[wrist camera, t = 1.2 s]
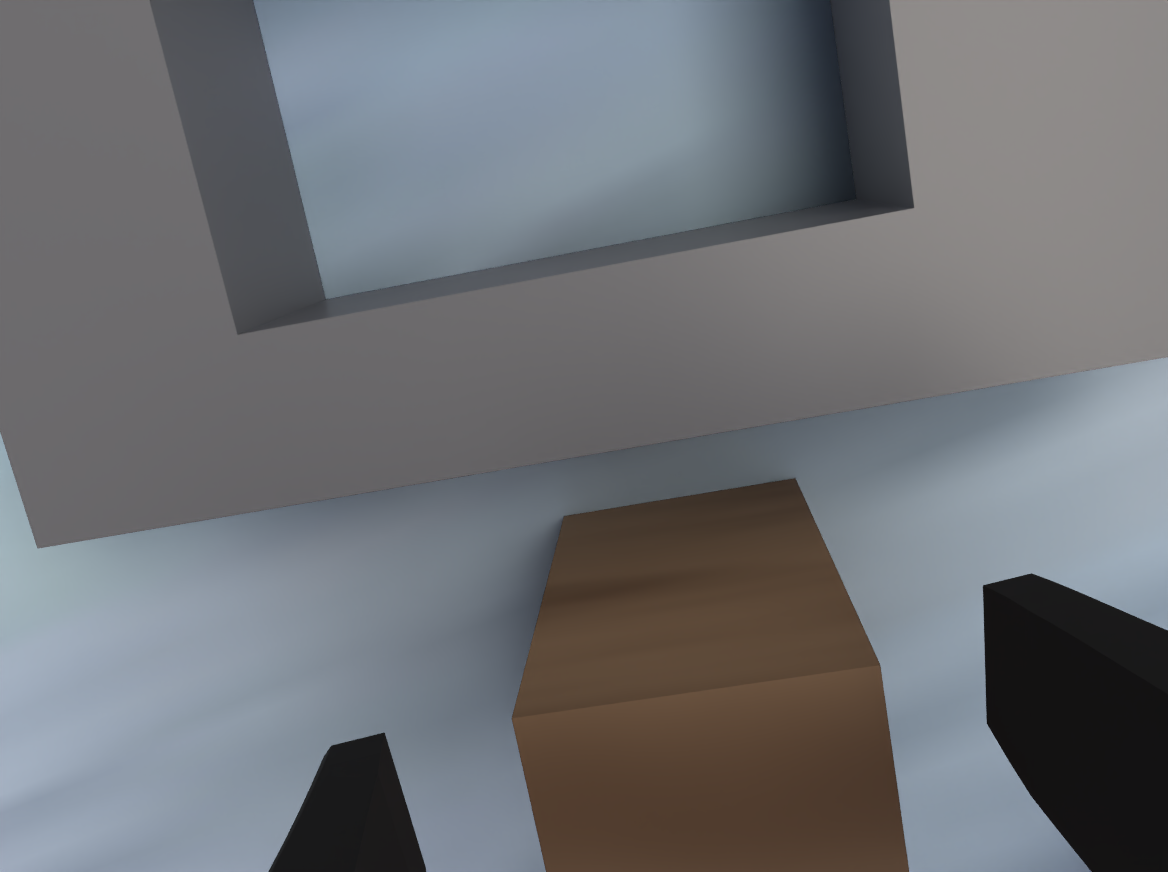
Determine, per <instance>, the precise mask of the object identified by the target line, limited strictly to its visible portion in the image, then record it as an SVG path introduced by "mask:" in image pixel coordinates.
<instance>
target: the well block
mask: <svg viewBox="0 0 1168 872" xmlns="http://www.w3.org/2000/svg"><path fill="white" fill-rule="evenodd" d="M830 2H831V10H832V18H833V25H834V33H835V40H836V48H837V56H838V63H839V71H840V78H841V86H842V94H843V101H844V109H845V116H846V124H847V131H848V139H849V147H850V154H851V162H852V169H853V177H854V185H855V192H856V199H854V200H849V201H844V202H838V203H833V204H828V205H823V206H817V207H812V208H807V209H801V210H796V211H791V212H786V213H780V214H775V215H770V216H764V217H759V218H754V219H749V220H743V221H738V222H733V223H727V224H722V225H717V226H712V227H706V228H701V229H696V230H690V231H685V232H680V233H675V234H669V235H664V236H659V237H653V238H648V239H643V240H638V241H632V242H627V243H622V244H616V245H611V246H606V247H601V248H595V249H590V250H585V251H579V252H574V253H569V254H564V255H558V256H553V257H548V258H542V259H537V260H532V261H527V262H521V263H516V264H511V265H505V266H500V267H495V268H490V269H484V270H479V271H474V272H468V273H463V274H458V275H453V276H447V277H442V278H437V279H431V280H426V281H421V282H416V283H410V284H405V285H400V286H394V287H389V288H384V289H379V290H373V291H368V292H363V293H357V294H352V295H347V296H342V297H336V298H331V299H325V295H324V290H323V286H322V282H321V278H320V274H319V270H318V266H317V262H316V258H315V253H314V249H313V245H312V241H311V237H310V233H309V229H308V225H307V221H306V216H305V212H304V208H303V204H302V200H301V196H300V192H299V188H298V184H297V179H296V175H295V171H294V167H293V163H292V159H291V155H290V151H289V147H288V142H287V138H286V134H285V130H284V126H283V122H282V118H281V114H280V110H279V105H278V101H277V97H276V93H275V89H274V85H273V81H272V77H271V73H270V69H269V64H268V60H267V56H266V52H265V48H264V44H263V40H262V36H261V32H260V27H259V23H258V19H257V15H256V11H255V7H254V3H253V0H0V432H1V435H2V438H3V442H4V445H5V448H6V451H7V454H8V457H9V460H10V463H11V467H12V470H13V473H14V476H15V479H16V482H17V485H18V489H19V492H20V495H21V498H22V501H23V504H24V507H25V511H26V514H27V517H28V520H29V523H30V526H31V529H32V533H33V536H34V539H35V542H36V545H37V548H43V547H49V546H55V545H61V544H67V543H73V542H78V541H84V540H90V539H96V538H102V537H108V536H114V535H120V534H126V533H132V532H137V531H143V530H149V529H155V528H161V527H167V526H173V525H179V524H185V523H191V522H196V521H202V520H208V519H214V518H220V517H226V516H232V515H238V514H244V513H250V512H256V511H261V510H267V509H273V508H279V507H285V506H291V505H297V504H303V503H309V502H315V501H320V500H326V499H332V498H338V497H344V496H350V495H356V494H362V493H368V492H374V491H380V490H385V489H391V488H397V487H403V486H409V485H415V484H421V483H427V482H433V481H439V480H444V479H450V478H456V477H462V476H468V475H474V474H480V473H486V472H492V471H498V470H504V469H509V468H515V467H521V466H527V465H533V464H539V463H545V462H551V461H557V460H563V459H568V458H574V457H580V456H586V455H592V454H598V453H604V452H610V451H616V450H622V449H628V448H633V447H639V446H645V445H651V444H657V443H663V442H669V441H675V440H681V439H687V438H692V437H698V436H704V435H710V434H716V433H722V432H728V431H734V430H740V429H746V428H752V427H757V426H763V425H769V424H775V423H781V422H787V421H793V420H799V419H805V418H811V417H816V416H822V415H828V414H834V413H840V412H846V411H852V410H858V409H864V408H870V407H876V406H881V405H887V404H893V403H899V402H905V401H911V400H917V399H923V398H929V397H935V396H940V395H946V394H952V393H958V392H964V391H970V390H976V389H982V388H988V387H994V386H1000V385H1005V384H1011V383H1017V382H1023V381H1029V380H1035V379H1041V378H1047V377H1053V376H1059V375H1064V374H1070V373H1076V372H1082V371H1088V370H1094V369H1100V368H1106V367H1112V366H1118V365H1124V364H1129V363H1135V362H1141V361H1147V360H1153V359H1159V358H1165V357H1168V0H830Z"/></svg>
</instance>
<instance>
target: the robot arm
mask: <svg viewBox="0 0 1168 872" xmlns="http://www.w3.org/2000/svg"><path fill="white" fill-rule="evenodd" d="M983 601H984V638H985V674H986V711H987V724H988V726H989V728H990V729H991V731H992V733H993V735H994V736H995V738H996V740H997V741H998V743H999V745H1000V746H1001V748H1002V750H1003V752H1004V753H1005V755H1006V757H1007V758H1008V760H1009V762H1010V763H1011V765H1012V767H1013V768H1014V770H1015V771H1016V773H1017V774H1018V776H1019V778H1020V779H1021V781H1022V782H1023V784H1024V785H1025V787H1026V789H1027V790H1028V792H1029V793H1030V795H1031V796H1032V798H1033V799H1034V800H1035V801H1036V803H1037V804H1038V805H1039V807H1040V808H1041V809H1042V810H1043V812H1044V813H1045V814H1046V815H1047V817H1048V818H1049V819H1050V821H1051V822H1052V823H1053V824H1054V826H1055V827H1056V828H1057V829H1058V831H1059V832H1060V833H1061V834H1062V836H1063V837H1064V838H1065V839H1066V841H1067V842H1068V843H1069V844H1070V846H1071V847H1072V848H1073V849H1074V851H1075V852H1076V853H1077V854H1078V855H1079V857H1080V858H1081V859H1082V860H1083V862H1084V863H1085V864H1086V865H1087V867H1088V868H1089V869H1090V870H1091V871H1092V872H1168V631H1167V630H1165V629H1163V628H1160V627H1158V626H1156V625H1153V624H1151V623H1149V622H1146V621H1144V620H1142V619H1139V618H1137V617H1135V616H1133V615H1130V614H1128V613H1126V612H1123V611H1121V610H1119V609H1116V608H1114V607H1112V606H1110V605H1107V604H1105V603H1103V602H1100V601H1098V600H1096V599H1093V598H1091V597H1089V596H1086V595H1084V594H1082V593H1079V592H1077V591H1075V590H1072V589H1070V588H1068V587H1065V586H1063V585H1060V584H1058V583H1055V582H1053V581H1050V580H1048V579H1045V578H1042V577H1040V576H1037V575H1034V574H1027V575H1023V576H1019V577H1015V578H1011V579H1007V580H1003V581H999V582H995V583H991V584H987V585H983ZM269 872H426V867H425V864H424V861H423V857H422V854H421V851H420V848H419V844H418V841H417V838H416V834H415V831H414V828H413V825H412V821H411V818H410V815H409V811H408V808H407V805H406V802H405V798H404V795H403V792H402V788H401V785H400V782H399V779H398V775H397V772H396V769H395V765H394V762H393V759H392V756H391V752H390V749H389V746H388V742H387V739H386V736H385V733H381V734H377V735H373V736H369V737H365V738H361V739H357V740H353V741H349V742H344V743H340V744H336V745H332V746H331V747H330V749H329V750H328V751H327V753H326V754H325V756H324V758H323V760H322V762H321V764H320V767H319V769H318V771H317V774H316V776H315V778H314V780H313V782H312V785H311V787H310V789H309V791H308V793H307V796H306V798H305V800H304V802H303V804H302V806H301V809H300V811H299V813H298V815H297V817H296V819H295V821H294V823H293V825H292V827H291V829H290V831H289V833H288V835H287V837H286V839H285V841H284V843H283V845H282V847H281V849H280V851H279V853H278V855H277V857H276V859H275V860H274V862H273V864H272V866H271V868H270V870H269Z"/></svg>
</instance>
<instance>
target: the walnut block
mask: <svg viewBox="0 0 1168 872" xmlns="http://www.w3.org/2000/svg"><path fill="white" fill-rule="evenodd" d="M512 722H513V726H514V731H515V735H516V739H517V744H518V748H519V753H520V757H521V762H522V766H523V771H524V775H525V780H526V784H527V789H528V793H529V797H530V802H531V806H532V811H533V815H534V820H535V824H536V829H537V833H538V838H539V842H540V846H541V851H542V855H543V860H544V864H545V869H546V872H909V867H908V860H907V853H906V846H905V839H904V831H903V824H902V817H901V810H900V803H899V796H898V789H897V781H896V774H895V767H894V760H893V753H892V746H891V739H890V731H889V724H888V717H887V710H886V703H885V696H884V689H883V681H882V674H881V667H880V663H879V661H878V659H877V657H876V655H875V652H874V650H873V648H872V646H871V644H870V641H869V639H868V637H867V635H866V633H865V630H864V628H863V626H862V624H861V622H860V619H859V617H858V615H857V613H856V611H855V608H854V606H853V604H852V602H851V600H850V597H849V595H848V593H847V591H846V589H845V586H844V584H843V582H842V580H841V578H840V575H839V573H838V571H837V569H836V567H835V564H834V562H833V560H832V558H831V556H830V553H829V551H828V549H827V547H826V545H825V542H824V540H823V538H822V536H821V534H820V531H819V529H818V527H817V525H816V523H815V520H814V518H813V516H812V514H811V512H810V509H809V507H808V505H807V503H806V501H805V498H804V496H803V494H802V492H801V490H800V487H799V485H798V483H797V481H796V479H795V478H794V479H788V480H781V481H775V482H769V483H763V484H757V485H751V486H745V487H739V488H733V489H727V490H720V491H714V492H708V493H702V494H696V495H690V496H684V497H678V498H672V499H665V500H659V501H653V502H647V503H641V504H635V505H629V506H623V507H617V508H611V509H604V510H598V511H592V512H586V513H580V514H574V515H568V516H564V518H563V522H562V526H561V530H560V534H559V538H558V542H557V545H556V549H555V553H554V557H553V561H552V565H551V569H550V572H549V576H548V580H547V584H546V588H545V592H544V596H543V600H542V603H541V607H540V611H539V615H538V619H537V623H536V627H535V631H534V634H533V638H532V642H531V646H530V650H529V654H528V658H527V662H526V665H525V669H524V673H523V677H522V681H521V685H520V689H519V692H518V696H517V700H516V704H515V708H514V712H513V716H512Z"/></svg>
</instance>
